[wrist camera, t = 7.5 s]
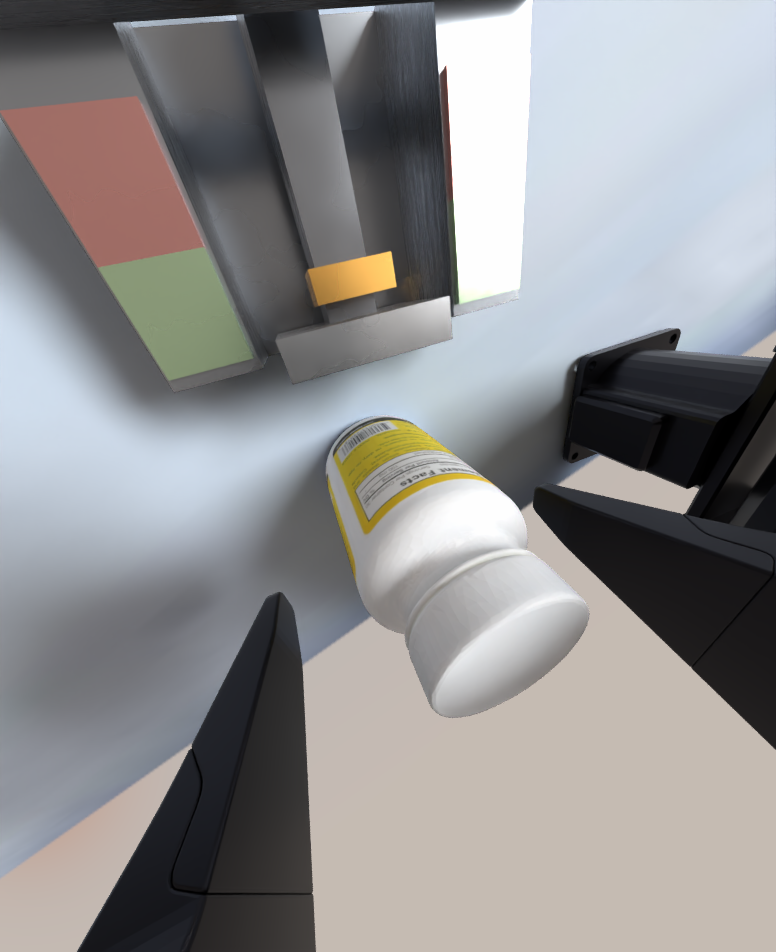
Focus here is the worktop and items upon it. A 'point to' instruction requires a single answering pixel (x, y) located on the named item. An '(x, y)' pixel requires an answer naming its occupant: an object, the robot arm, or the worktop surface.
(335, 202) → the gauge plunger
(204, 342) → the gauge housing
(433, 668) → the supplement bottle
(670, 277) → the worktop surface
